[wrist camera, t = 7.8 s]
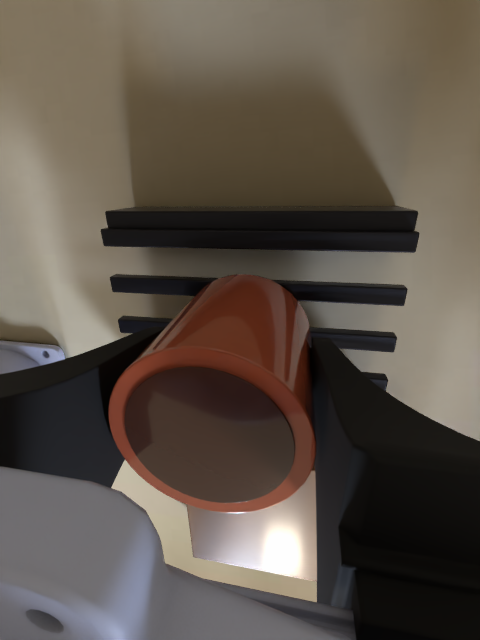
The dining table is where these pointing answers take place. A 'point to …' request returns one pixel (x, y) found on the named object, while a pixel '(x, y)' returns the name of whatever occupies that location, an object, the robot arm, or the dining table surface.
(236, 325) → the cup
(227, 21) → the dining table surface
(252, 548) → the brown square slab
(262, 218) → the rack
